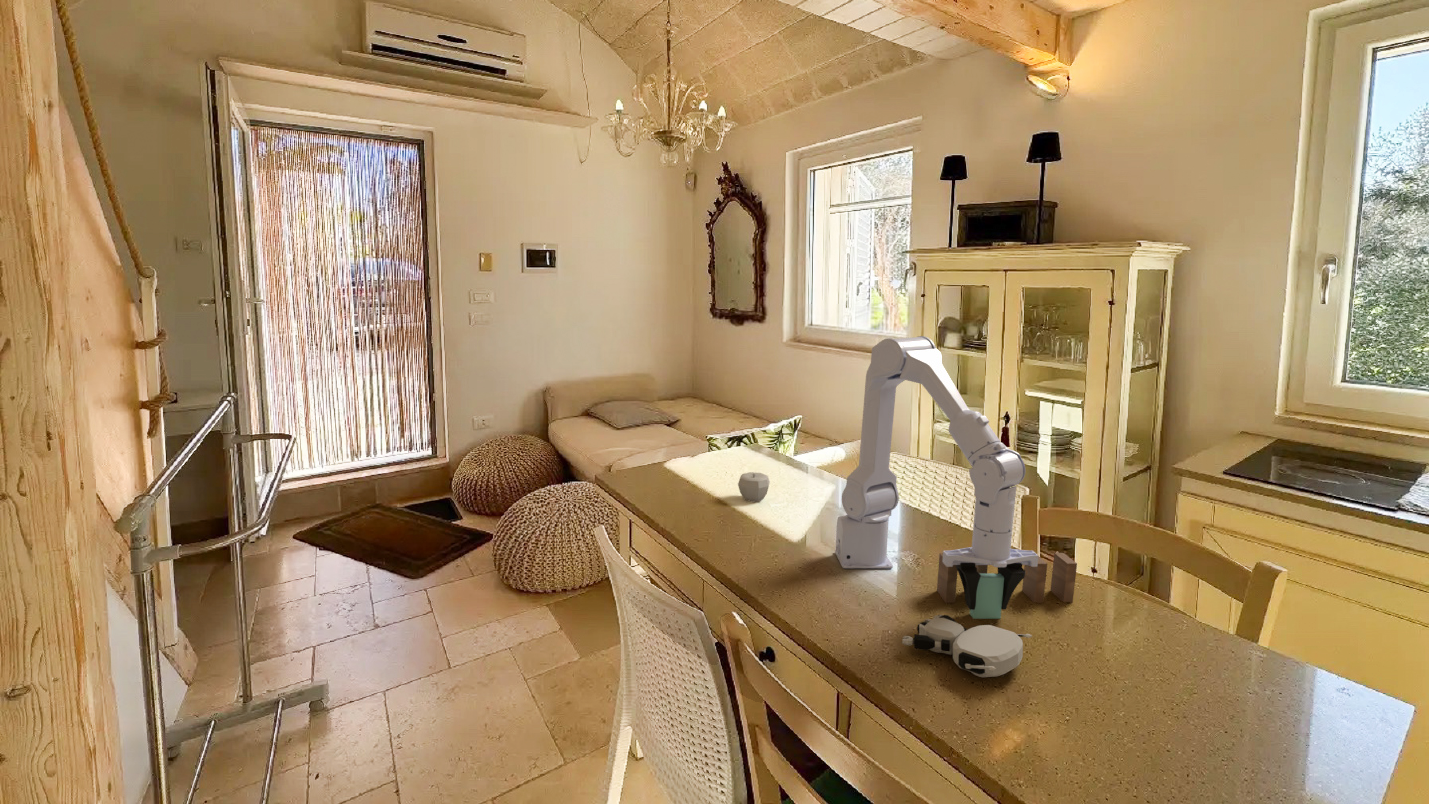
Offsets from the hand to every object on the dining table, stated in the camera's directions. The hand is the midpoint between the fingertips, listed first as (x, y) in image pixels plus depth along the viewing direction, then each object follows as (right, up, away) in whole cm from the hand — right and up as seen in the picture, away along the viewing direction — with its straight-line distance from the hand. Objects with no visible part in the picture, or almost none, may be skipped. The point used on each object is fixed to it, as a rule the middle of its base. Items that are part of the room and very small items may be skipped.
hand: (985, 606), depth 112 cm
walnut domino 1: (-4, 0, +7) cm, 8 cm away
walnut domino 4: (+16, 0, +7) cm, 17 cm away
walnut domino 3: (+11, 0, +7) cm, 13 cm away
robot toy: (-8, -4, -12) cm, 15 cm away
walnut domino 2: (+1, 0, +7) cm, 7 cm away
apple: (-34, +9, +56) cm, 67 cm away
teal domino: (0, -2, 0) cm, 2 cm away
